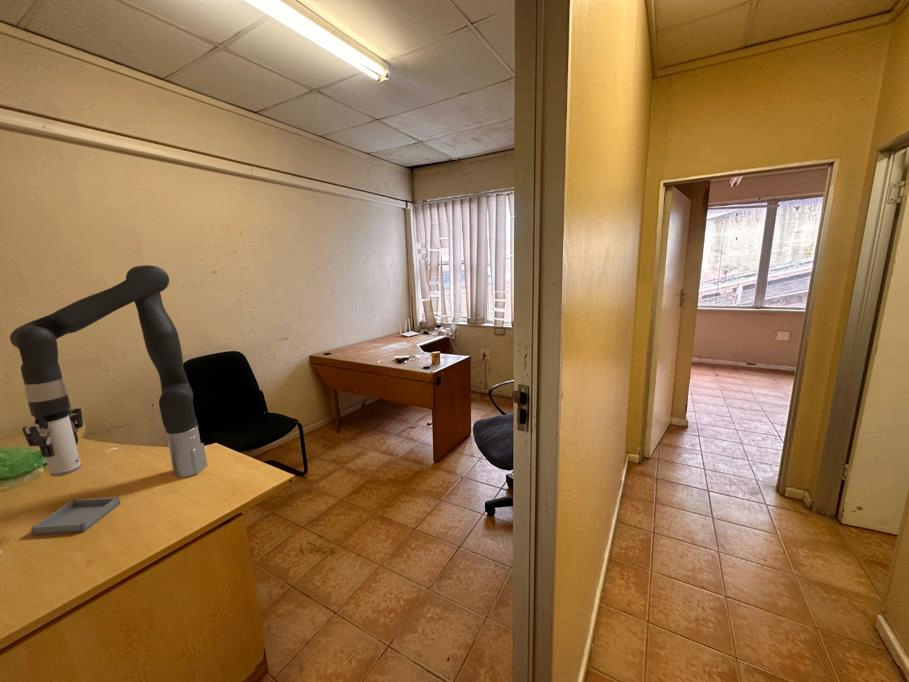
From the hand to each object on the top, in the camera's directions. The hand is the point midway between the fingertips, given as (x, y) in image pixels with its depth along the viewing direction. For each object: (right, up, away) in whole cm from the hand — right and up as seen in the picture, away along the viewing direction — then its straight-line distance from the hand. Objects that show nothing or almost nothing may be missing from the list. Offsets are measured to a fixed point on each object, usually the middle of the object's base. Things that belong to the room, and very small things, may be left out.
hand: (61, 450), depth 102 cm
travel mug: (0, -7, +2) cm, 7 cm away
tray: (0, -22, +5) cm, 23 cm away
